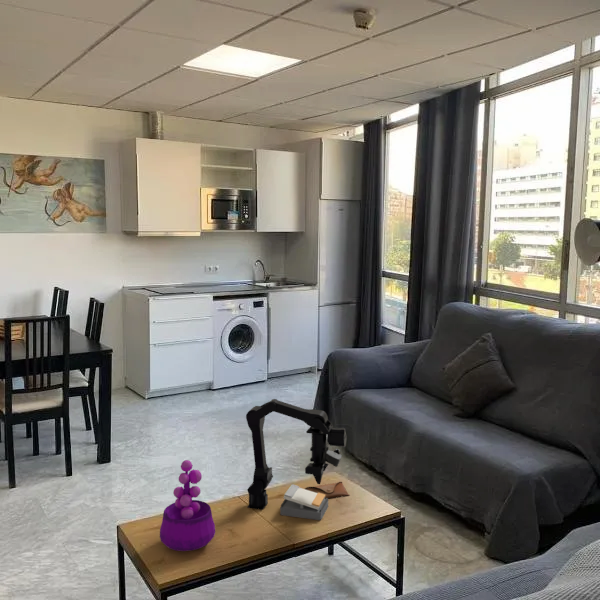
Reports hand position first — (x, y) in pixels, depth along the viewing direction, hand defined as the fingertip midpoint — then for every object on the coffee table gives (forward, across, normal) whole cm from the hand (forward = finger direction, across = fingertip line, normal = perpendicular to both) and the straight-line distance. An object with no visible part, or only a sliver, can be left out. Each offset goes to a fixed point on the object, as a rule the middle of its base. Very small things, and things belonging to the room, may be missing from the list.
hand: (318, 483), depth 232 cm
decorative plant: (+12, -36, +38) cm, 53 cm away
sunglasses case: (+12, +16, +1) cm, 21 cm away
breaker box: (+12, 0, +6) cm, 13 cm away
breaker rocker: (+6, 0, +6) cm, 8 cm away
